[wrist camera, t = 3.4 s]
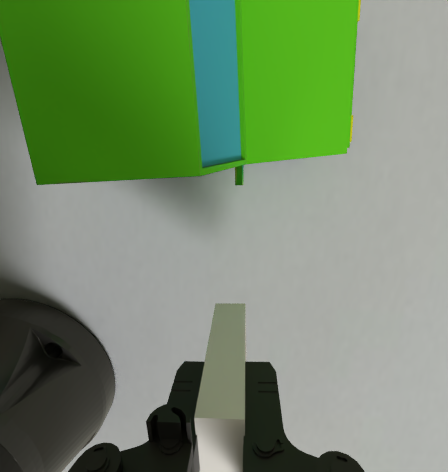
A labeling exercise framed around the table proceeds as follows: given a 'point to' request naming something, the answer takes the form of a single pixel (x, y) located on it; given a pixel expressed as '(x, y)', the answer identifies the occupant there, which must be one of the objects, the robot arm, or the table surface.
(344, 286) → the table surface
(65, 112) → the toy car
